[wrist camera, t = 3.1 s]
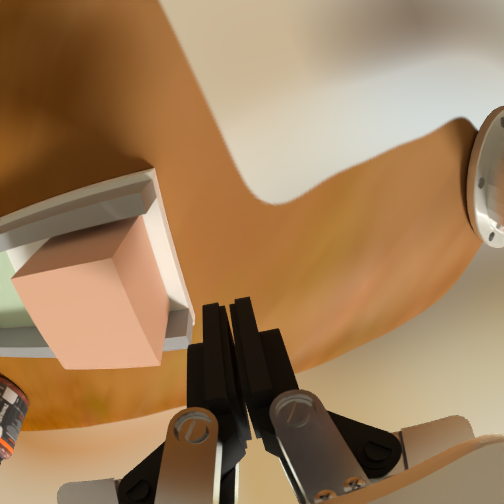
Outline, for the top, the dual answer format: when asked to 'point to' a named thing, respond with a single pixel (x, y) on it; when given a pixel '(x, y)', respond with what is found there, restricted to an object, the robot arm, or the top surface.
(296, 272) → the top surface
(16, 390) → the supplement bottle
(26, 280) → the block
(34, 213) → the chute
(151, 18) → the top surface
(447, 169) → the top surface
